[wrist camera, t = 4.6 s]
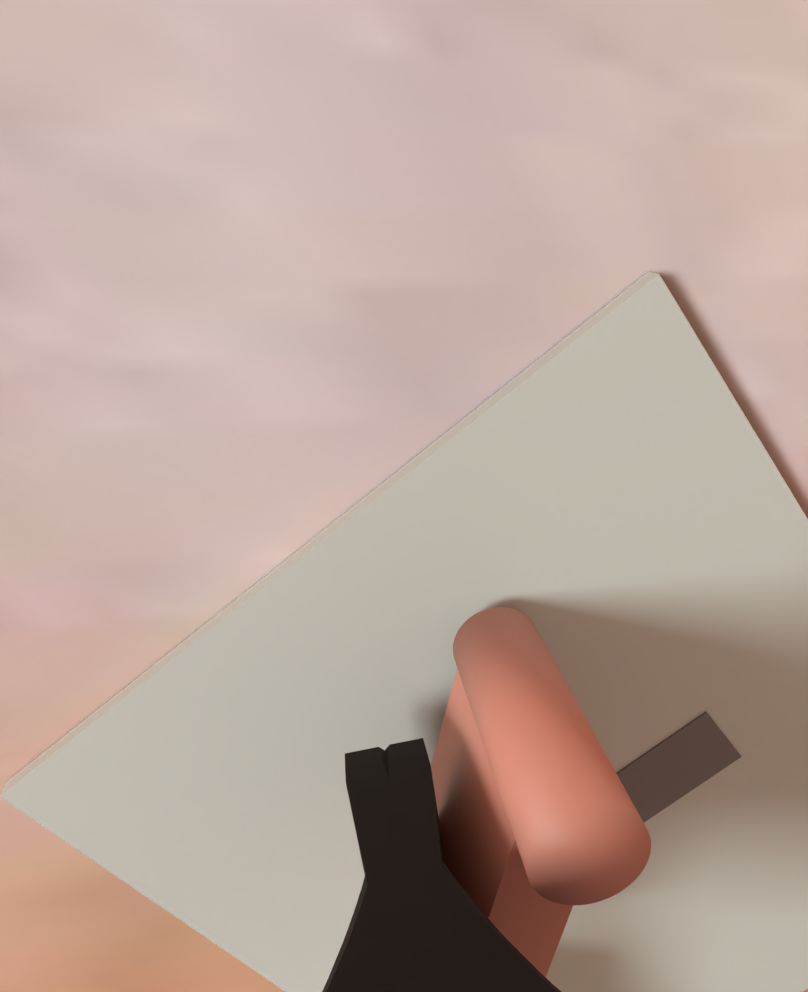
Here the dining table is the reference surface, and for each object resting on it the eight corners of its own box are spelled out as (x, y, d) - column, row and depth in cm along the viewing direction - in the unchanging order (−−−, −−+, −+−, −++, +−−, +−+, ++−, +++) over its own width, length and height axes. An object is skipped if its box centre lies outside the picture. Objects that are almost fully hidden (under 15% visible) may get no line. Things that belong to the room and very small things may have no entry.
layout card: (1000, 848, 19) (1016, 862, 18) (526, 1141, 21) (530, 1160, 20) (648, 271, 12) (660, 273, 12) (7, 781, 14) (-2, 798, 14)
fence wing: (450, 923, 16) (507, 1196, 12) (379, 921, 16) (409, 1200, 11) (547, 612, 14) (668, 812, 9) (464, 601, 13) (546, 802, 9)
